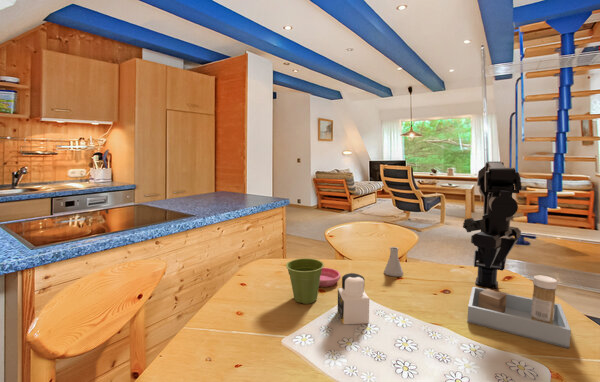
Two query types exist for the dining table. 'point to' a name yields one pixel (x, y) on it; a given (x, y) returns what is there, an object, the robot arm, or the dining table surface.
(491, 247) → the robot arm
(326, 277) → the saucer
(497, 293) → the walnut cube
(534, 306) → the sprinkles bottle
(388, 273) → the flask
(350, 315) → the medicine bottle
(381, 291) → the dining table surface
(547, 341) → the tray
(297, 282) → the plant pot
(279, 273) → the dining table surface
